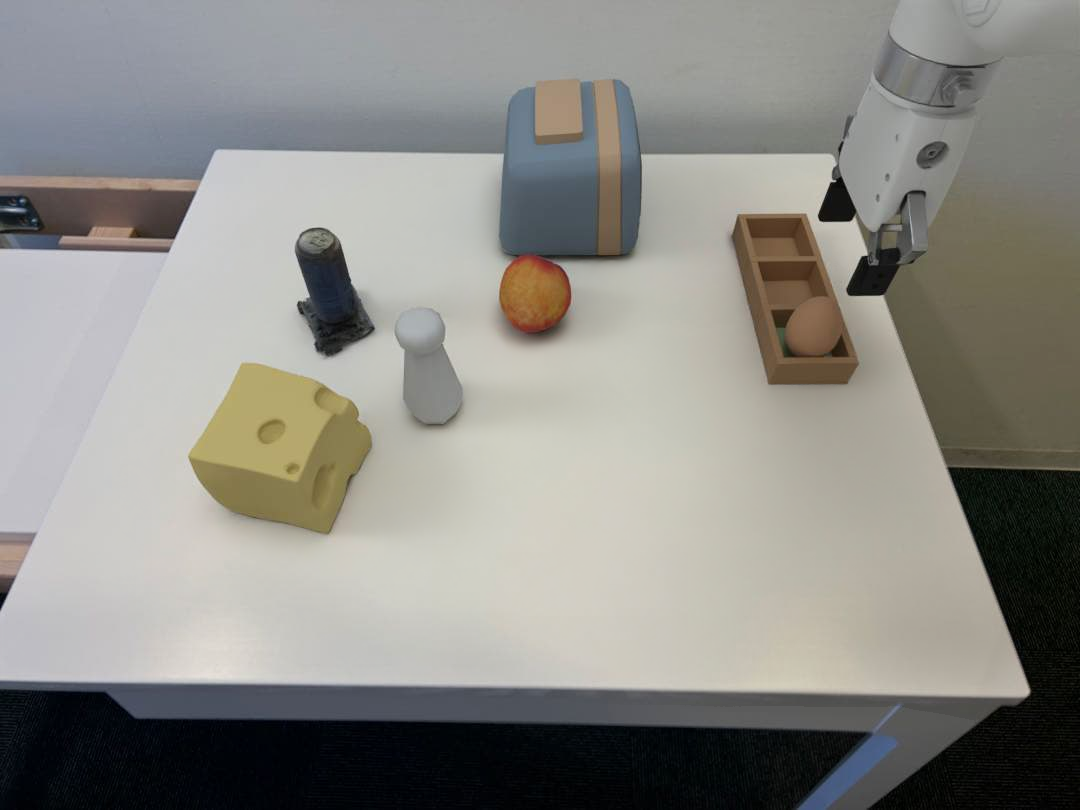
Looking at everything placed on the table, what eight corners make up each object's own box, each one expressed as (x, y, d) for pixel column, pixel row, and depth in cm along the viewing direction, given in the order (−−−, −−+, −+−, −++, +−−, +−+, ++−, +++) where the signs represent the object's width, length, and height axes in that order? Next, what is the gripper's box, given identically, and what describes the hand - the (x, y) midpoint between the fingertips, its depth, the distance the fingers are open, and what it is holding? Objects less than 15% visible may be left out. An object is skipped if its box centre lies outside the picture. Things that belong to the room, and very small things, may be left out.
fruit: (585, 312, 78) (589, 258, 71) (541, 357, 74) (541, 305, 67) (529, 282, 80) (528, 228, 74) (484, 324, 77) (479, 271, 70)
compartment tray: (847, 383, 72) (859, 363, 69) (768, 384, 72) (777, 363, 69) (797, 235, 85) (806, 213, 82) (731, 236, 85) (737, 213, 82)
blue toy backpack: (637, 263, 82) (655, 143, 69) (499, 263, 82) (491, 143, 69) (627, 176, 92) (641, 57, 79) (503, 176, 92) (497, 57, 79)
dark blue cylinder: (387, 328, 76) (365, 243, 67) (324, 362, 74) (291, 279, 64) (346, 282, 80) (319, 196, 71) (285, 312, 78) (248, 227, 68)
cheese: (375, 443, 68) (352, 380, 59) (328, 543, 62) (296, 488, 53) (277, 421, 69) (241, 357, 61) (222, 516, 63) (175, 459, 55)
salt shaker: (398, 425, 69) (372, 338, 58) (418, 380, 72) (397, 290, 61) (455, 437, 68) (439, 351, 57) (472, 391, 71) (460, 302, 61)
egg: (816, 333, 75) (841, 279, 68) (835, 370, 72) (863, 317, 66) (769, 338, 74) (791, 285, 68) (787, 376, 72) (811, 324, 65)
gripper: (1042, 136, 43) (923, 325, 57) (944, 8, 54) (862, 194, 67) (922, 137, 43) (831, 326, 57) (846, 9, 54) (785, 195, 67)
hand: (848, 255), depth 62 cm, fingers open, 9 cm apart
